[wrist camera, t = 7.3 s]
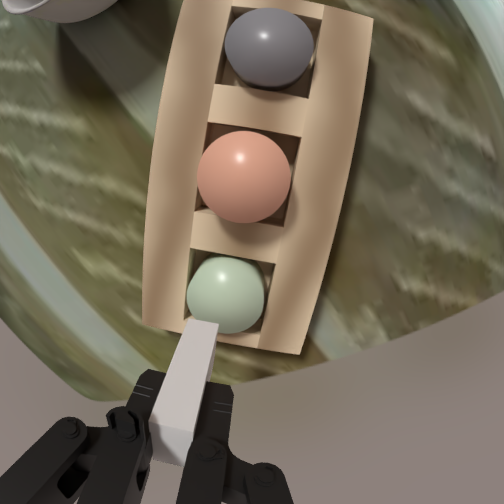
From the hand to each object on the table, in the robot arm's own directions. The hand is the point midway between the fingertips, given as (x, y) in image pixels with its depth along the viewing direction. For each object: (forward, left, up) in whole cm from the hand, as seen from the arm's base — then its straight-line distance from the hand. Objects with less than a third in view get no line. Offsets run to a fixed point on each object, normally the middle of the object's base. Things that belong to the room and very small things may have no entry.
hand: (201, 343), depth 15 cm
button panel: (+1, +8, -9) cm, 12 cm away
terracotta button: (+1, +8, -7) cm, 11 cm away
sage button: (+1, 0, -8) cm, 8 cm away
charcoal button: (+1, +16, -8) cm, 18 cm away
